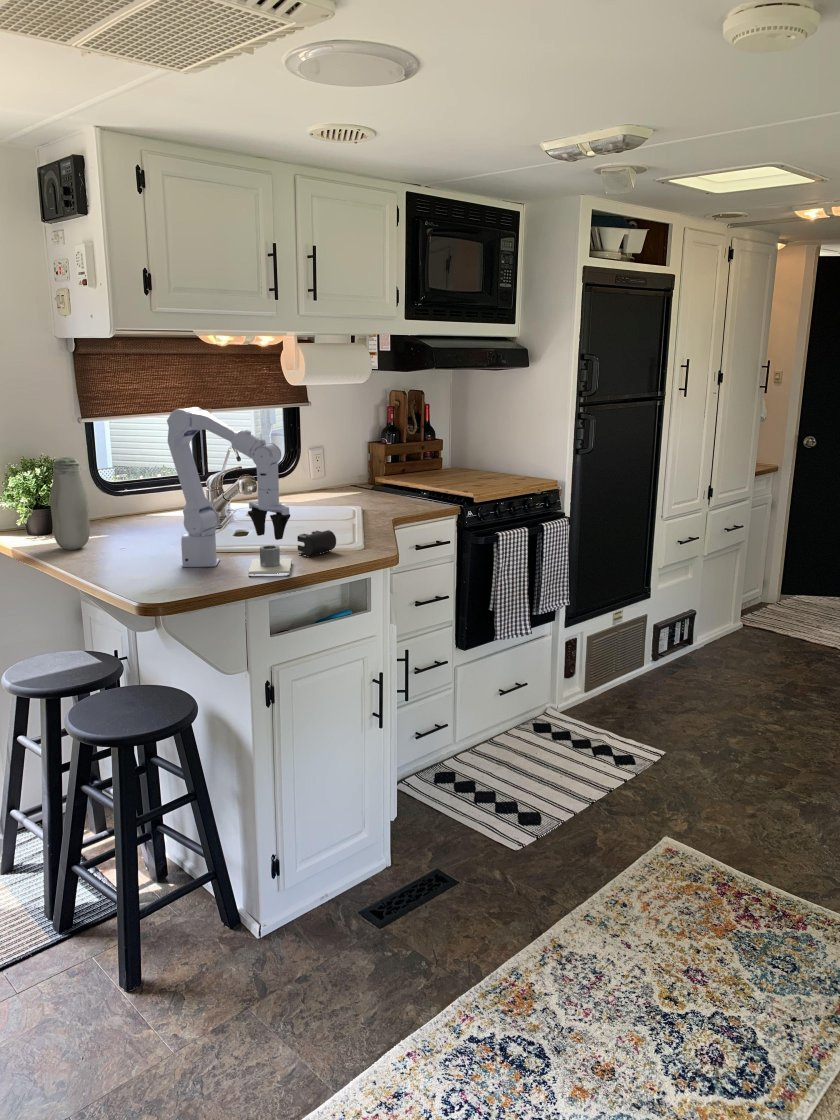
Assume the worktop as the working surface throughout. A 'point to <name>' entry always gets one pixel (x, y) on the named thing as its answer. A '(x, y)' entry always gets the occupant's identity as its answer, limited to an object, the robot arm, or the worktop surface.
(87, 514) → the grey bottle
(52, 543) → the worktop surface
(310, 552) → the black cylinder
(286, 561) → the board
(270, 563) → the sleeve
